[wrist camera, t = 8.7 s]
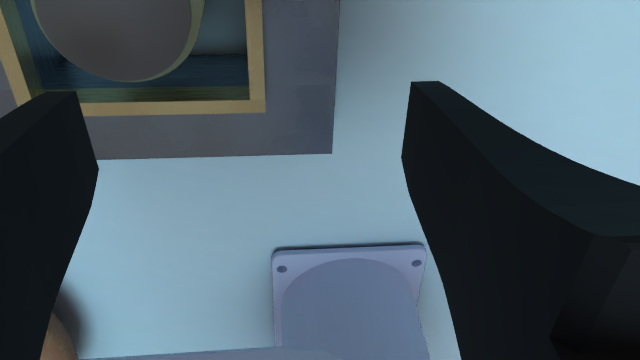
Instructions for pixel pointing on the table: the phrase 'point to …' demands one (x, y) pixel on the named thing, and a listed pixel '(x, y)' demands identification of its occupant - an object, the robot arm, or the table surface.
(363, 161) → the table surface
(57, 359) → the ceramic jug
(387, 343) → the robot arm
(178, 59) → the oil can
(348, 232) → the table surface
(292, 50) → the grey square base
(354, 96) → the table surface
